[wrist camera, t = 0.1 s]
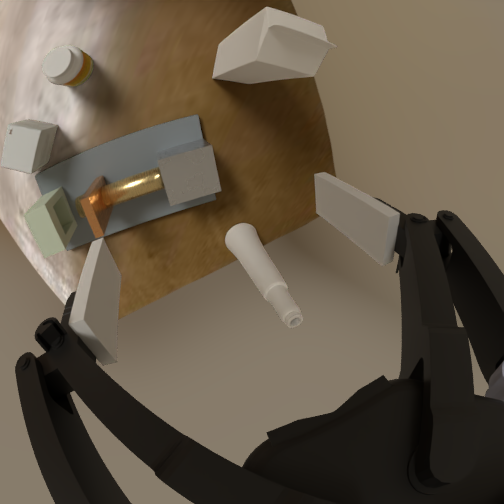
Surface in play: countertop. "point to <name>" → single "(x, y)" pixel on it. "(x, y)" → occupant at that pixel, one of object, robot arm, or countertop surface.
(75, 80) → the supplement bottle
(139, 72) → the countertop surface
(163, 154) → the grey cube end cap
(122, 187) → the tube
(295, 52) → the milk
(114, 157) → the board
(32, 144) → the product box
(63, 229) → the socket
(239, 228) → the cosmetic bottle
